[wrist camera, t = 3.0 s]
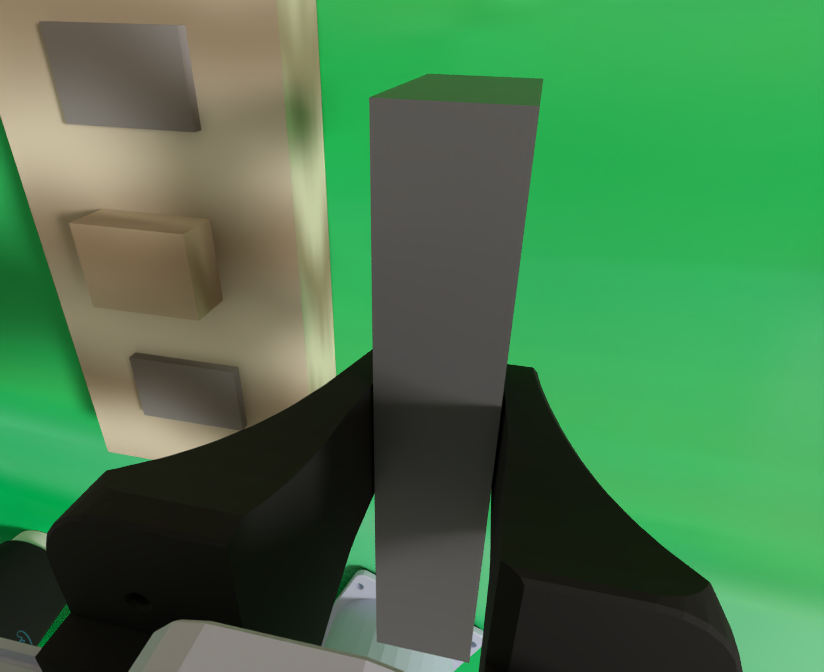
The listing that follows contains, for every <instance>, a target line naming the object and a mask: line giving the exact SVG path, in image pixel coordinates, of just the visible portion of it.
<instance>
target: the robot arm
mask: <svg viewBox="0 0 824 672" xmlns="http://www.w3.org/2000/svg"><path fill="white" fill-rule="evenodd" d="M374 493H375V483H374V407H373V349H372V350H371V351H370V352H368V353H367V354H366V355H364V356H363V357H362V358H360V359H359V360H358V361H356V362H355V363H354V364H352V365H351V366H350V367H348V368H347V369H346V370H344V371H343V372H342V373H340V374H339V375H337V376H336V377H335V378H333V379H332V380H330V381H329V382H328V383H326V384H325V385H323V386H322V387H320V388H319V389H317V390H316V391H314V392H312V393H311V394H309V395H308V396H306V397H305V398H303V399H301V400H300V401H298V402H297V403H295V404H293V405H292V406H290V407H288V408H286V409H285V410H283V411H281V412H279V413H277V414H275V415H273V416H271V417H269V418H267V419H265V420H263V421H261V422H259V423H257V424H255V425H253V426H251V427H248V428H246V429H243V430H241V431H238V432H236V433H234V434H231V435H229V436H226V437H224V438H221V439H219V440H216V441H214V442H211V443H208V444H205V445H202V446H199V447H196V448H193V449H190V450H187V451H184V452H180V453H177V454H174V455H170V456H167V457H163V458H159V459H155V460H151V461H147V462H143V463H138V464H134V465H130V466H126V467H121V468H117V469H112V470H107V471H106V472H105V473H103V474H102V475H101V476H100V477H99V478H98V479H97V480H96V481H95V482H94V483H93V484H92V485H91V486H90V487H89V488H88V489H87V490H86V491H85V492H84V493H83V494H82V495H81V496H80V497H79V498H78V499H77V500H76V501H75V502H74V503H73V504H72V505H71V506H70V507H69V509H68V510H67V511H66V512H65V513H64V514H63V515H62V516H61V517H60V518H59V519H58V520H57V521H56V522H55V523H54V524H53V525H52V527H51V528H50V530H49V531H48V533H47V537H46V553H47V556H48V560H49V563H50V566H51V568H52V571H53V573H54V575H55V578H56V580H57V582H58V584H59V587H60V589H61V591H62V593H63V596H64V598H65V600H66V602H67V605H68V607H69V609H70V611H71V613H70V614H69V616H68V617H67V618H66V619H65V620H64V622H63V623H62V624H61V625H60V627H59V628H58V629H57V630H56V632H55V633H54V634H53V635H52V636H51V638H50V639H49V640H48V641H47V643H46V644H45V645H44V646H43V648H41V647H37V646H33V645H29V644H25V643H21V642H17V641H13V640H9V639H5V638H1V637H0V672H453V671H455V670H456V669H457V668H458V667H459V666H460V665H461V664H462V663H463V661H458V660H454V659H449V658H445V657H441V656H436V655H432V654H427V653H423V652H418V651H414V650H410V649H405V648H401V647H396V646H392V645H388V644H383V643H379V642H377V635H376V575H375V574H373V573H371V572H369V571H366V570H358V571H357V572H356V573H355V574H354V576H353V577H352V578H351V580H350V581H349V583H348V584H347V585H346V587H345V588H344V589H343V591H342V592H341V593H340V595H339V596H338V597H337V599H336V600H335V598H336V595H337V591H338V588H339V585H340V582H341V579H342V575H343V572H344V569H345V566H346V563H347V559H348V556H349V553H350V550H351V547H352V545H353V542H354V540H355V537H356V534H357V532H358V530H359V527H360V525H361V523H362V520H363V518H364V516H365V513H366V511H367V509H368V507H369V504H370V502H371V500H372V497H373V495H374ZM481 646H482V648H481V657H480V665H479V672H743V671H742V666H741V661H740V656H739V652H738V649H737V645H736V642H735V639H734V636H733V633H732V630H731V627H730V625H729V623H728V621H727V618H726V616H725V614H724V611H723V609H722V607H721V605H720V603H719V600H718V598H717V596H716V594H715V592H714V590H713V587H712V585H711V583H710V582H709V581H708V580H706V579H705V578H704V577H702V576H701V575H700V574H698V573H697V572H696V571H694V570H693V569H692V568H690V567H689V566H688V565H686V564H685V563H684V562H682V561H681V560H680V559H679V558H677V557H676V556H675V555H673V554H672V553H671V552H669V551H668V550H667V549H665V548H664V547H663V546H662V545H661V544H659V543H658V542H657V541H656V540H655V539H654V538H653V537H651V536H650V535H649V534H648V533H647V532H646V531H645V530H644V529H642V528H641V527H640V526H639V525H638V524H637V523H636V522H635V521H634V520H633V519H632V518H631V517H630V516H629V515H628V514H627V513H626V512H625V511H624V510H623V509H622V508H621V507H620V506H619V505H618V504H617V503H616V502H615V501H614V500H613V499H612V498H611V497H610V496H609V495H608V494H607V492H606V491H605V490H604V489H603V488H602V486H601V485H600V484H599V483H598V482H597V480H596V479H595V478H594V477H593V475H592V474H591V473H590V471H589V470H588V469H587V468H586V466H585V465H584V463H583V462H582V461H581V459H580V458H579V456H578V455H577V453H576V452H575V450H574V449H573V447H572V445H571V444H570V442H569V441H568V439H567V437H566V436H565V434H564V432H563V431H562V429H561V427H560V425H559V423H558V421H557V419H556V418H555V416H554V414H553V412H552V410H551V408H550V406H549V404H548V401H547V399H546V397H545V394H544V392H543V390H542V387H541V384H540V381H539V378H538V374H537V372H536V371H535V369H534V368H532V367H525V366H517V365H509V364H507V368H506V376H505V384H504V392H503V400H502V407H501V415H500V423H499V431H498V439H497V447H496V455H495V463H494V471H493V479H492V486H491V549H490V574H489V585H488V594H487V603H486V612H485V621H484V630H483V631H482V630H481V629H479V628H477V627H475V626H474V629H473V636H472V644H471V652H470V656H471V655H472V654H474V653H475V652H476V651H477V650H478V649H479V648H480V647H481Z"/></svg>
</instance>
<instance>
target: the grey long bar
mask: <svg viewBox="0 0 824 672" xmlns="http://www.w3.org/2000/svg"><path fill="white" fill-rule="evenodd" d="M542 84H543V79H535V78H512V77H489V76H466V75H443V74H426V75H424V76H421V77H419V78H417V79H414V80H412V81H409V82H407V83H404V84H402V85H399V86H397V87H394V88H392V89H389V90H387V91H384V92H382V93H379V94H377V95H374V96H372V97H369V103H370V179H371V255H372V331H373V407H374V483H375V559H376V635H377V642H379V643H383V644H388V645H392V646H396V647H401V648H405V649H410V650H414V651H418V652H423V653H427V654H432V655H436V656H441V657H445V658H449V659H454V660H458V661H463V662H467V663H469V660H470V652H471V644H472V636H473V629H474V621H475V613H476V605H477V597H478V589H479V581H480V573H481V566H482V558H483V550H484V542H485V534H486V526H487V518H488V510H489V503H490V495H491V486H492V479H493V471H494V463H495V455H496V447H497V439H498V431H499V423H500V415H501V407H502V400H503V392H504V384H505V376H506V368H507V360H508V352H509V344H510V336H511V329H512V321H513V313H514V305H515V297H516V289H517V281H518V273H519V265H520V257H521V250H522V242H523V234H524V226H525V218H526V210H527V202H528V194H529V186H530V179H531V171H532V163H533V155H534V147H535V139H536V131H537V124H538V116H539V108H540V100H541V92H542Z"/></svg>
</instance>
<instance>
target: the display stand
mask: <svg viewBox="0 0 824 672" xmlns="http://www.w3.org/2000/svg"><path fill="white" fill-rule="evenodd" d="M0 116H1V119H2V122H3V125H4V128H5V132H6V135H7V138H8V141H9V144H10V147H11V150H12V153H13V157H14V160H15V163H16V166H17V169H18V172H19V175H20V178H21V181H22V185H23V188H24V191H25V194H26V197H27V200H28V203H29V206H30V209H31V213H32V216H33V219H34V222H35V225H36V228H37V231H38V234H39V237H40V241H41V244H42V247H43V250H44V253H45V256H46V259H47V262H48V265H49V269H50V272H51V275H52V278H53V281H54V284H55V287H56V290H57V293H58V297H59V300H60V303H61V306H62V309H63V312H64V315H65V318H66V321H67V325H68V328H69V331H70V334H71V337H72V340H73V343H74V346H75V349H76V353H77V356H78V359H79V362H80V365H81V368H82V371H83V374H84V377H85V381H86V384H87V387H88V390H89V393H90V396H91V399H92V402H93V406H94V409H95V412H96V415H97V418H98V421H99V424H100V427H101V430H102V434H103V437H104V440H105V443H106V446H107V449H108V452H113V453H119V454H124V455H130V456H136V457H141V458H147V459H152V460H155V459H159V458H163V457H167V456H170V455H174V454H177V453H180V452H184V451H187V450H190V449H193V448H196V447H199V446H202V445H205V444H208V443H211V442H214V441H216V440H219V439H221V438H224V437H226V436H229V435H231V434H234V433H236V432H238V431H241V430H243V429H246V428H248V427H251V426H253V425H255V424H257V423H259V422H261V421H263V420H265V419H267V418H269V417H271V416H273V415H275V414H277V413H279V412H281V411H283V410H285V409H286V408H288V407H290V406H292V405H293V404H295V403H297V402H298V401H300V400H301V399H303V398H305V397H306V396H308V395H309V394H311V393H312V392H314V391H316V390H317V389H319V388H320V387H322V386H323V385H325V384H326V383H328V382H329V381H330V380H332V379H333V378H335V377H336V365H335V346H334V328H333V309H332V290H331V271H330V253H329V234H328V215H327V196H326V177H325V159H324V140H323V121H322V102H321V84H320V65H319V46H318V27H317V9H316V0H0Z"/></svg>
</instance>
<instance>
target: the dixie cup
mask: <svg viewBox="0 0 824 672" xmlns="http://www.w3.org/2000/svg"><path fill="white" fill-rule="evenodd" d="M46 537H47V534H46V533H43V532H40V531H34V530H27V531H23V532H21V533H20V534H18V535H17V536H16V537H15V538H13V539H12V540H10V541H5V542H3V543H2V544H0V637H1V638H5V639H9V640H13V641H17V642H21V643H25V644H29V645H33V646H37V645H38V644H39V643H40V641H41V640H42V638H43V637H44V635H45V634H46V632H47V631H48V629H49V628H50V626H51V625H52V624H53V622H54V621H55V619H56V618H57V616H58V615H59V613H60V612H61V610H62V609H63V607H64V606H65V605H66V603H67V602H66V600H65V598H64V596H63V593H62V591H61V589H60V587H59V584H58V582H57V580H56V578H55V575H54V573H53V571H52V568H51V566H50V563H49V560H48V556H47V553H46Z"/></svg>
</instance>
